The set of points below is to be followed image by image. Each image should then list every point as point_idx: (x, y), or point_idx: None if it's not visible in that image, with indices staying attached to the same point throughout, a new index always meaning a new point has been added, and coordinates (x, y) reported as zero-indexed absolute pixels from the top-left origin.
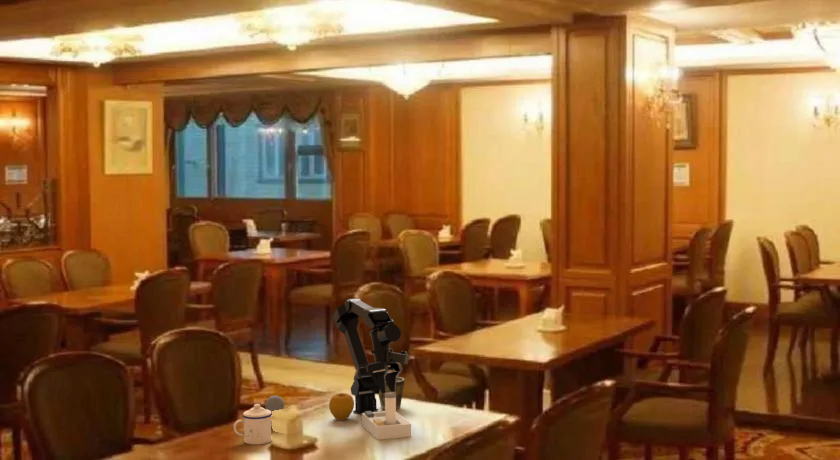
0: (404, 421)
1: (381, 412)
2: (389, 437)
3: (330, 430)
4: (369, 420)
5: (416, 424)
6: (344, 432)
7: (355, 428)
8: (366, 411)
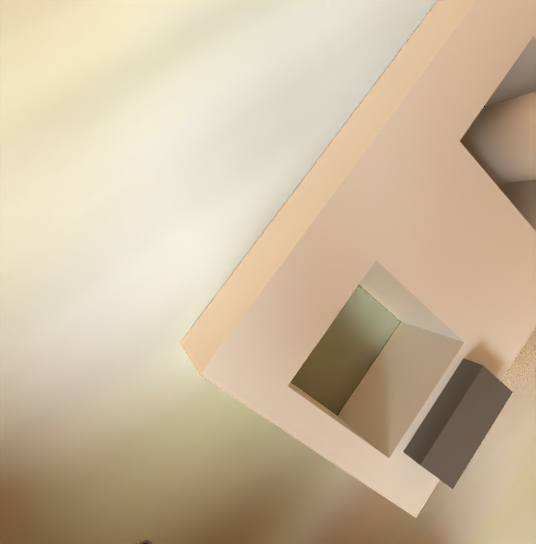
0: (476, 45)
1: (326, 413)
2: None
3: (515, 514)
4: (533, 324)
5: (143, 136)
6: (516, 425)
7: None
8: (451, 472)
